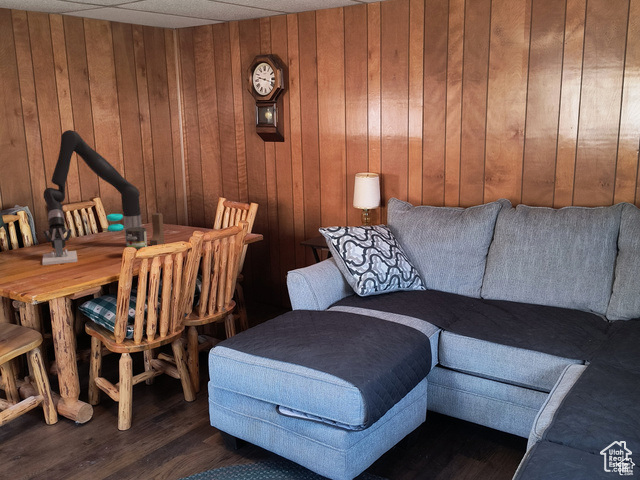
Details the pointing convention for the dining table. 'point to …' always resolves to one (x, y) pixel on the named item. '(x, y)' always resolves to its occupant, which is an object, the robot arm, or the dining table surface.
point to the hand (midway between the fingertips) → (58, 247)
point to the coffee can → (136, 237)
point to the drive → (58, 246)
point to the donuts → (115, 218)
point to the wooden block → (157, 229)
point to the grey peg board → (59, 257)
